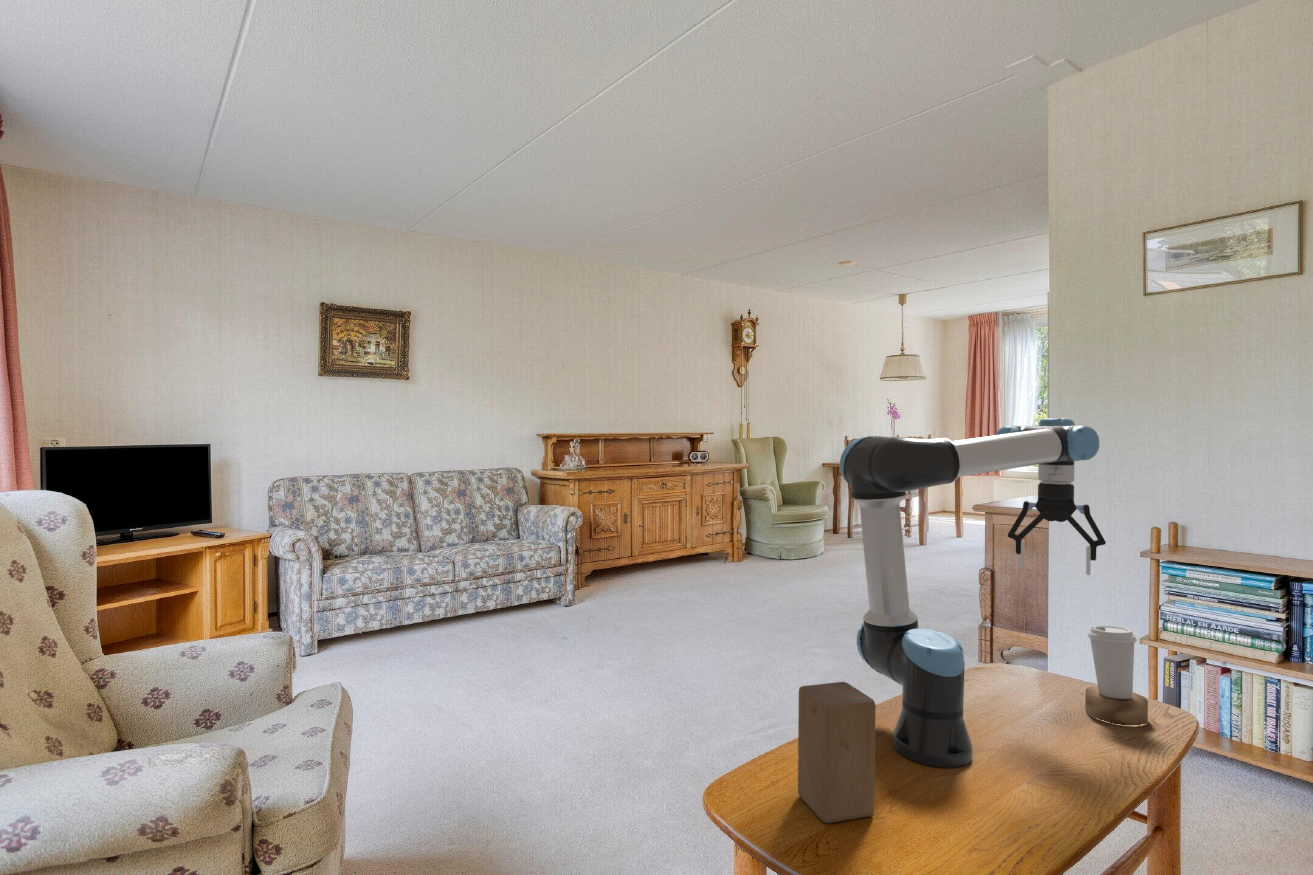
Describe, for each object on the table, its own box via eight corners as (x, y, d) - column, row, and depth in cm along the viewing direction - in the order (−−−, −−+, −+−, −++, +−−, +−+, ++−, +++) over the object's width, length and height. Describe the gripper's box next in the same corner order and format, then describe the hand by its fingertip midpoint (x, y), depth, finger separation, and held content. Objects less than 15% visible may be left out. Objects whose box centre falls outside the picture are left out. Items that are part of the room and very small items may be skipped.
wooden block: (824, 826, 112) (825, 705, 112) (795, 795, 122) (796, 684, 122) (877, 817, 115) (878, 699, 115) (844, 787, 125) (845, 679, 124)
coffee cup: (1099, 685, 164) (1095, 622, 165) (1146, 694, 157) (1142, 629, 158) (1084, 694, 158) (1080, 628, 159) (1132, 704, 151) (1128, 635, 152)
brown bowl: (1086, 720, 155) (1086, 698, 155) (1084, 703, 166) (1084, 682, 166) (1150, 732, 149) (1151, 710, 149) (1144, 713, 160) (1144, 692, 160)
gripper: (997, 481, 166) (995, 567, 166) (1120, 486, 154) (1118, 579, 154) (998, 479, 173) (997, 562, 173) (1116, 484, 160) (1115, 573, 161)
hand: (1054, 570), depth 163 cm, fingers open, 13 cm apart
